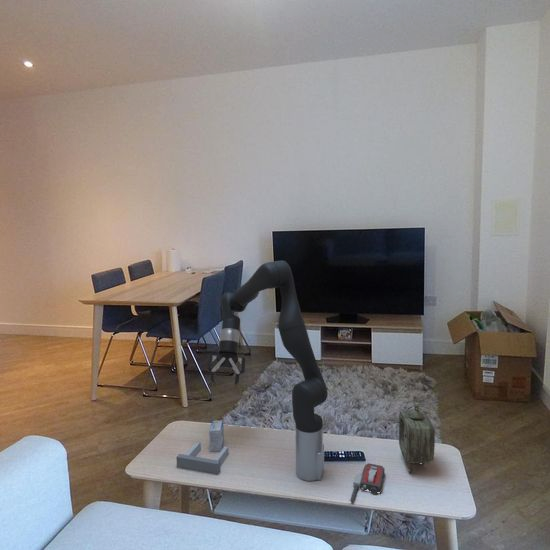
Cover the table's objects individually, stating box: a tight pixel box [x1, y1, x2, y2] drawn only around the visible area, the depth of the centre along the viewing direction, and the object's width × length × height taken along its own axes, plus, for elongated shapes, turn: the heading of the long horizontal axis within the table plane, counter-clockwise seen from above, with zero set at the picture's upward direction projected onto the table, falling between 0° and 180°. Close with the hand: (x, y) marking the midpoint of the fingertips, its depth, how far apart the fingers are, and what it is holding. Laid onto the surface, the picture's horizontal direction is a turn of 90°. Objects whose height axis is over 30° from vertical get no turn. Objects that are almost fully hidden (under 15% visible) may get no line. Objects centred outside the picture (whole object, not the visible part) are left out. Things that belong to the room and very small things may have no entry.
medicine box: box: [208, 420, 225, 452], centre depth 159 cm, size 8×4×9 cm, turn 0°
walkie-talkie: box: [349, 462, 386, 503], centre depth 134 cm, size 9×4×20 cm
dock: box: [176, 441, 230, 476], centre depth 149 cm, size 16×12×4 cm
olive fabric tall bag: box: [398, 395, 436, 474], centre depth 144 cm, size 14×9×25 cm, turn 175°
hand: (224, 383), depth 155 cm, fingers open, 8 cm apart
